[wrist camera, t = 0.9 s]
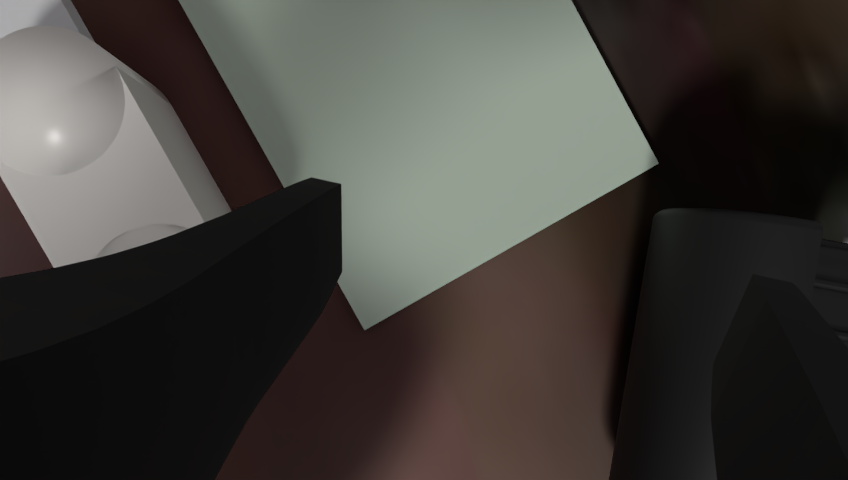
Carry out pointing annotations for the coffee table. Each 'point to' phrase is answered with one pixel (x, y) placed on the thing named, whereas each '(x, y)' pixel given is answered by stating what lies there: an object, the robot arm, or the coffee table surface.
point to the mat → (427, 124)
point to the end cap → (707, 325)
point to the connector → (91, 141)
